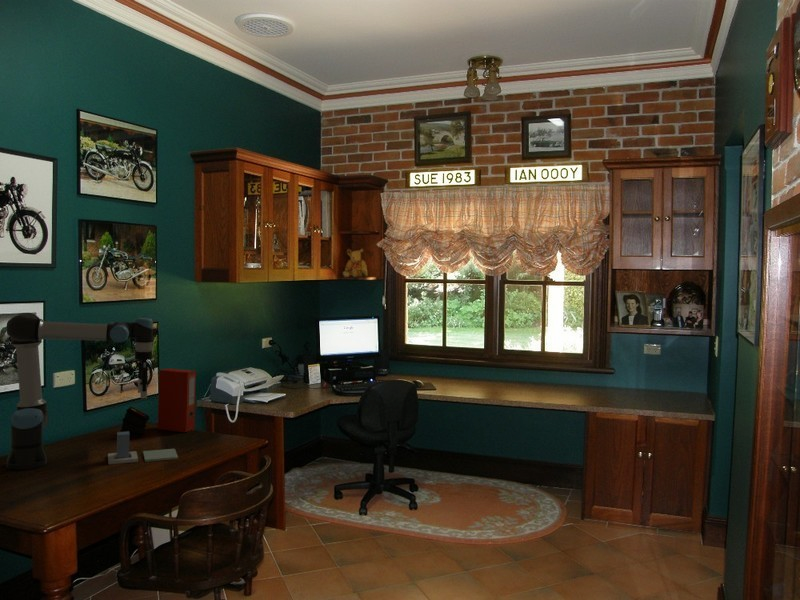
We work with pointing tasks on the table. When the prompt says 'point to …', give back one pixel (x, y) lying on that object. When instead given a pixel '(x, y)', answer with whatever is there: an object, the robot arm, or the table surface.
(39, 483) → the table surface
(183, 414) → the file binder
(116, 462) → the pocket collar
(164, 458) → the pad
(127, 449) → the slate block
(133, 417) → the black slab
